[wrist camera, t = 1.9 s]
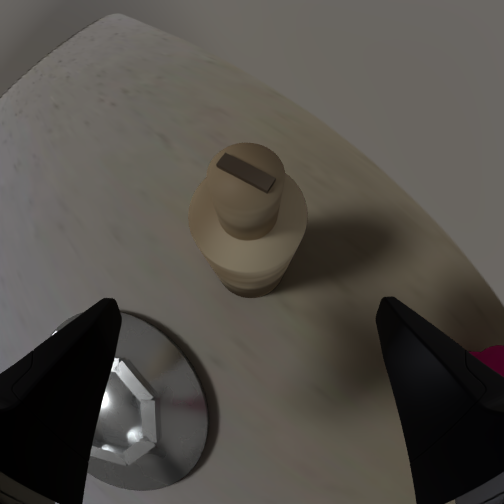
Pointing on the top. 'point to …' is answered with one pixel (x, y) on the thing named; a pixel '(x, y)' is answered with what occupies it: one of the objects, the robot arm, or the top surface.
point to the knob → (248, 218)
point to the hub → (148, 412)
